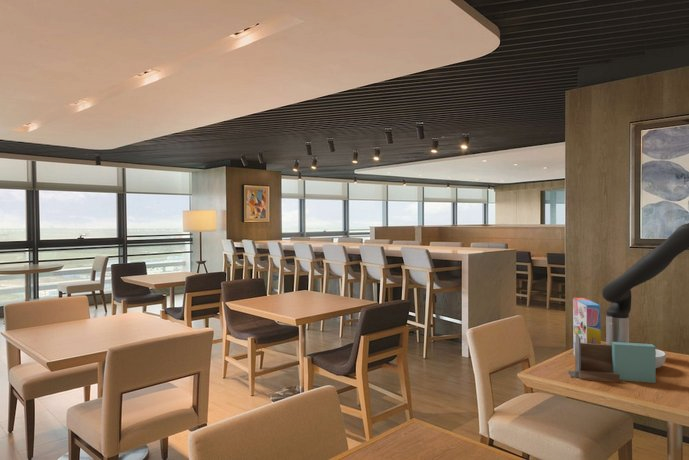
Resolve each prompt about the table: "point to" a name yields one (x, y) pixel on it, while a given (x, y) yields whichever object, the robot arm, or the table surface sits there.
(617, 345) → the book box
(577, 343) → the bookend
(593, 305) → the game box
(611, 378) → the shelf slot
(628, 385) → the table surface
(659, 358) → the cereal bowl
